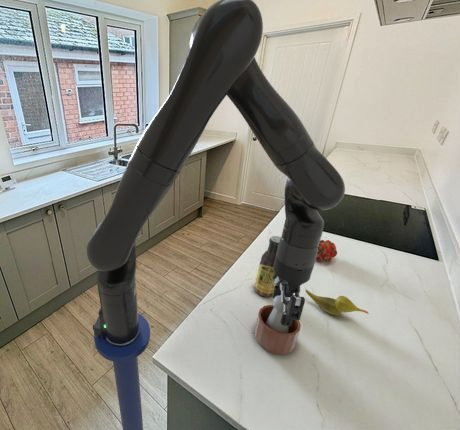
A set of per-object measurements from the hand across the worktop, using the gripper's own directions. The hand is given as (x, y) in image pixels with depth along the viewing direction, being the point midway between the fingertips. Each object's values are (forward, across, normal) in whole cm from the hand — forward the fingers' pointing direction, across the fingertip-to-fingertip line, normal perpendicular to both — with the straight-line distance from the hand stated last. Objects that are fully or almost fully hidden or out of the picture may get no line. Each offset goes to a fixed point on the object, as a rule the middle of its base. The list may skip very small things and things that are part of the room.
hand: (280, 310), depth 65 cm
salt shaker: (+10, 0, 0) cm, 10 cm away
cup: (+10, 0, 0) cm, 10 cm away
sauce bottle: (+10, -18, +1) cm, 21 cm away
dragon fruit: (+10, -40, +25) cm, 48 cm away
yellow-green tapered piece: (+10, -12, +18) cm, 24 cm away
